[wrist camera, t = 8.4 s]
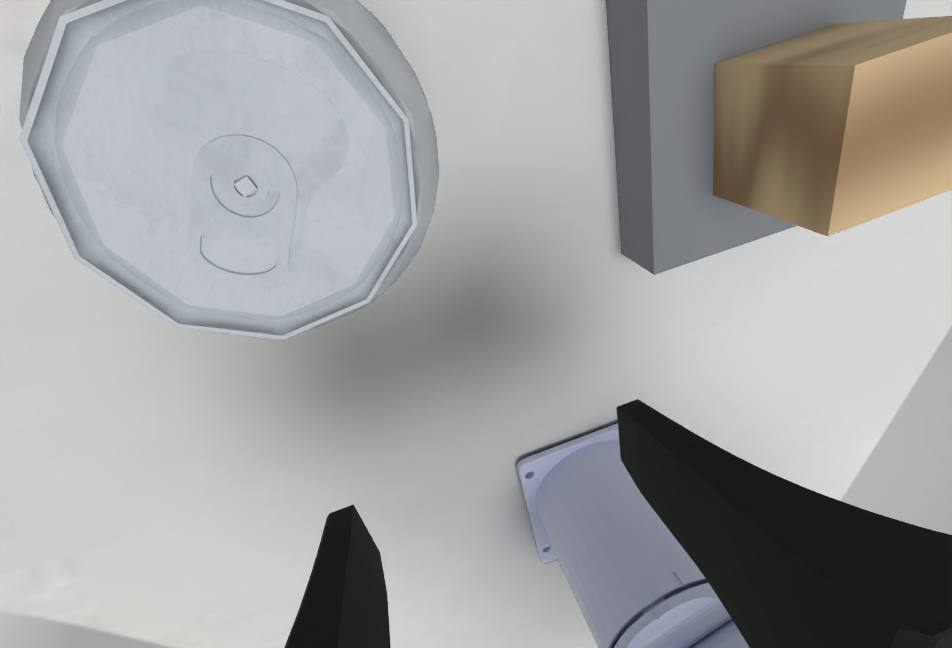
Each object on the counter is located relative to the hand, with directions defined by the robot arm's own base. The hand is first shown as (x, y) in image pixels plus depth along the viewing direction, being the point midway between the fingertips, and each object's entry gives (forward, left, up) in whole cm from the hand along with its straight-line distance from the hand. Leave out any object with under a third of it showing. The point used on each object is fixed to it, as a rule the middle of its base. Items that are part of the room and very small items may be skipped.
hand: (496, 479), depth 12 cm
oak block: (+5, -14, -7) cm, 16 cm away
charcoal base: (+5, -14, -10) cm, 18 cm away
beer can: (+9, +2, -10) cm, 13 cm away
